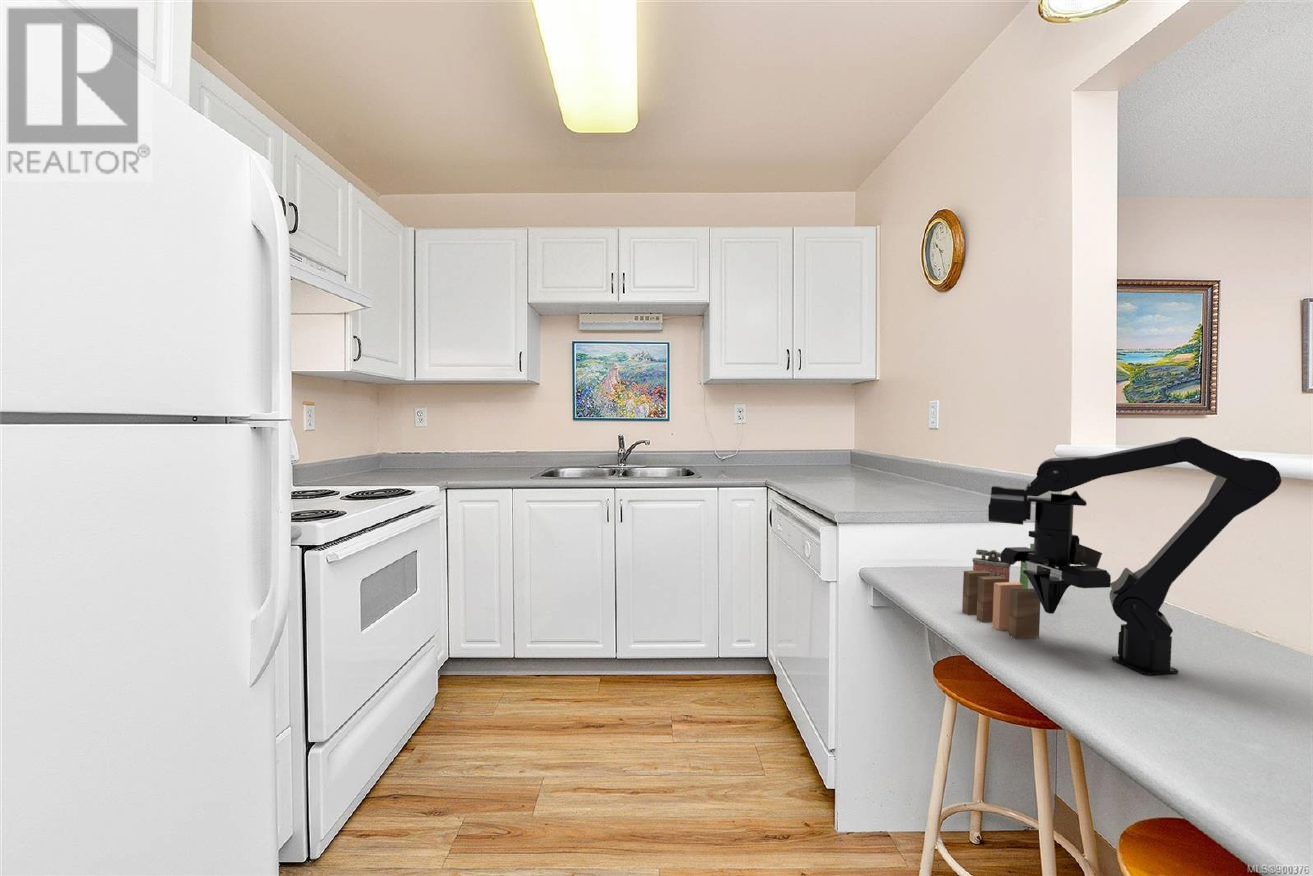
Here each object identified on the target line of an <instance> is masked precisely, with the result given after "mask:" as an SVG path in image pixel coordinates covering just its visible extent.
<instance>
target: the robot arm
mask: <svg viewBox="0 0 1313 876" xmlns="http://www.w3.org/2000/svg"><path fill="white" fill-rule="evenodd" d="M1179 463H1188V464H1190V465H1193V466H1195V467H1197V468H1199V469H1201V470H1203V471H1205V472H1207V473H1210V474H1212V475H1214V476H1215V479H1214V480H1213V482H1212V484H1211V486H1210V487H1209V491H1208V493H1207V496H1206V497H1205V499H1204V501H1203V503H1201V505H1200V506H1199V507H1198V508H1197V509H1196V510H1195V511H1194V512H1193V514H1191V516H1190V517H1189V518H1188V519H1187V520H1186V521H1185V522H1184V523H1183V524H1182V526H1181V527H1180V528H1179V529H1178V530H1177V531H1176V532H1175V533H1174V534H1173V535H1172V536H1171V538H1170V539H1169V540H1168V541H1167V542H1166V543H1165V544H1164V545H1163V546H1162V547H1161V548H1160V550H1158V551H1157V553H1156V554H1155V555H1154V556H1153V557H1152V558H1151V560H1150V561H1148V563H1147V564H1146V565H1144V566H1143V567H1141V568H1140V569H1138V570H1136V571H1134V572H1133V571H1132V570H1130V569H1129V568H1128V567H1125V568H1124V569H1123V571H1122V572H1121V574H1119V577H1118V578H1117V579H1116V580H1114V581H1112V579H1111V577H1112V576H1111V573H1109V572H1108V570H1107V569H1103V568H1100V567H1098V566H1099V564H1100V560H1101V559H1102V555H1103V552H1100V551H1098V550H1095V549H1093V548H1091V547H1088V546H1086V545H1082V544H1080V537H1079V535H1077V534H1073V529H1074V528H1073V527H1074V526H1073V525H1074V506H1080V507H1086V506H1087V501H1086V499H1084V498H1083V497H1082V496H1081V495H1080V494H1079V492H1078V491H1077V490H1073V492H1071V493H1069V494H1067V493H1060V492H1064V491H1067V490H1071V489H1073V488H1075V487H1079V486H1081V485H1084V484H1087V483H1089V482H1092V481H1095V480H1098V479H1100V478H1104V477H1109V476H1114V475H1120V474H1126V473H1130V472H1135V471H1136V472H1137V471H1142V470H1148V469H1152V468H1153V469H1154V468H1159V467H1162V466H1163V467H1165V466H1168V465H1169V466H1170V465H1174V464H1175V465H1176V464H1179ZM1281 483H1282V477H1281V474H1280V471H1279V470H1278V468H1276V467H1275V466H1274V465H1273V464H1271V463H1270V462H1268V461H1264V460H1261V459H1256V458H1249V457H1238V456H1235V455H1233V454H1231V453H1229V452H1226V451H1224V450H1221V449H1219V448H1216V447H1214V446H1212V445H1209V444H1207V443H1205V442H1203V441H1202V440H1200V439H1198V438H1195V437H1192V436H1191V437H1190V436H1182V437H1178V438H1176V439H1172V440H1167V441H1164V442H1157V443H1153V444H1148V445H1144V446H1138V447H1134V448H1129V449H1124V450H1118V451H1114V452H1113V451H1112V452H1108V453H1104V454H1098V455H1092V456H1068V457H1066V456H1065V457H1052V458H1051V457H1050V458H1048V459H1045V460H1044V461H1042V462H1041V463H1040V464H1039V466H1038V467H1037V471H1036V477H1035V478H1034V479H1033V480H1032V481H1031V482H1030V483H1027V484H1026V487H1025V488H1017V487H1005V486H1004V487H1003V486H1000V485H992V486H991V488H990V498H989V500H990V501H989V504H988V515H987V516H988V522H991V523H1002V524H1011V525H1021V526H1022V525H1024V522H1026V521H1027V520H1028V521H1031V520H1032V519H1031V517H1032V515H1031V514H1032V503H1035V506H1034V507H1035V508H1034V509H1035V510H1034V511H1035V512H1034V530H1029V531H1028V537H1030V538H1033V544H1034V549H1030V547H1027V546H1022V547H1021V546H1018V547H1017V546H1016V547H1014V546H1013V547H1008V546H1007V547H1004V549H1003V550H1002V551H1000V553H1001V559H1000V561H1001V562H1004V563H1007V564H1010V565H1011V566H1013V565H1015V564H1016V563H1017V562H1020V563H1021V562H1024V563H1027V570H1023V573H1024V574H1026V575H1027V577H1028V579H1029V581H1030V582H1031V584H1032V586H1033V588H1034V589H1035V591H1036V593H1037V595H1038V598H1039V600H1040V605H1042V608H1043V610H1044V612H1045V613H1046V614H1048V615H1051V614H1055V612H1056V609H1057V608H1058V607H1059V603H1060V602H1061V600H1062V598H1063V596H1064V594H1065V593H1066V591H1067V589H1068V588H1069V587H1070V586H1072V587H1076V588H1078V589H1079V588H1080V589H1099V588H1111V589H1110V592H1109V600H1110V604H1111V607H1112V610H1113V612H1114V614H1115V615H1116V617H1117V618H1119V619H1120V620H1121V621H1123V622H1125V623H1126V624H1125V623H1123V624H1120V631H1119V632H1118V638H1117V639H1118V645H1117V655H1113V656H1111V660H1112V661H1114V662H1117V663H1119V664H1121V665H1123V666H1125V667H1128V668H1130V669H1132V670H1135V671H1136V672H1139V673H1141V674H1144V675H1149V676H1150V675H1165V674H1167V675H1168V674H1178V673H1179V669H1177V668H1175V667H1174V666H1171V663H1172V662H1171V661H1172V643H1173V642H1172V641H1173V637H1172V636H1171V635H1172V634H1173V632H1174V631H1173V628H1172V626H1171V625H1170V623H1169V621H1168V619H1167V618H1166V616H1165V614H1164V613H1162V612H1161V610H1160V609H1161V607H1162V606H1163V604H1164V602H1165V599H1166V597H1167V595H1168V592H1169V591H1170V588H1171V586H1172V584H1173V583H1174V582H1175V581H1176V580H1177V578H1179V577H1180V576H1181V575H1182V574H1183V572H1184V571H1185V570H1186V569H1188V567H1189V566H1190V565H1191V564H1192V563H1193V561H1195V559H1196V558H1198V556H1199V555H1200V554H1201V553H1202V552H1203V551H1205V549H1206V548H1207V547H1208V546H1209V545H1210V544H1211V543H1212V542H1213V541H1214V540H1215V538H1216V537H1217V536H1218V535H1219V534H1220V533H1222V531H1223V530H1224V529H1226V527H1227V526H1228V525H1229V523H1231V522H1232V520H1233V519H1235V518H1236V517H1237V516H1239V515H1241V514H1243V513H1244V512H1246V511H1248V510H1250V509H1251V508H1253V507H1255V506H1257V505H1258V504H1259V503H1261V502H1263V501H1265V500H1266V498H1269V496H1271V495H1272V494H1274V493H1275V492H1276V491H1277V490H1278V489H1279V487H1280V486H1281V485H1282V484H1281ZM1048 492H1053V493H1050V497H1049V498H1048V497H1040V496H1042V495H1043V494H1046V493H1048ZM1056 492H1057V493H1056ZM1058 492H1059V493H1058ZM1046 564H1047V565H1046ZM1056 567H1058V568H1056ZM1111 581H1112V582H1111Z"/></svg>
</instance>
